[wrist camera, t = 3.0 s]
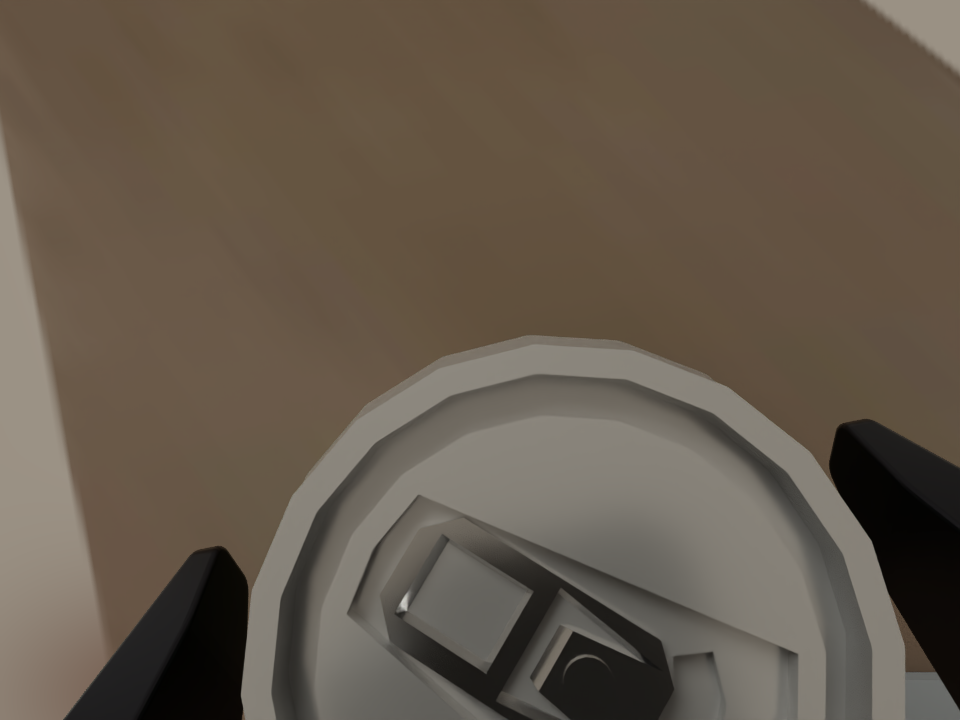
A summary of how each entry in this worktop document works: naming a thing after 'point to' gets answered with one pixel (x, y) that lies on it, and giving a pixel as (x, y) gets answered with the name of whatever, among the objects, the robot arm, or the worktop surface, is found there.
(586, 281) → the worktop surface
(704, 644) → the beer can
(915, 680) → the grey mat
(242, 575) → the robot arm
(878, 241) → the worktop surface
